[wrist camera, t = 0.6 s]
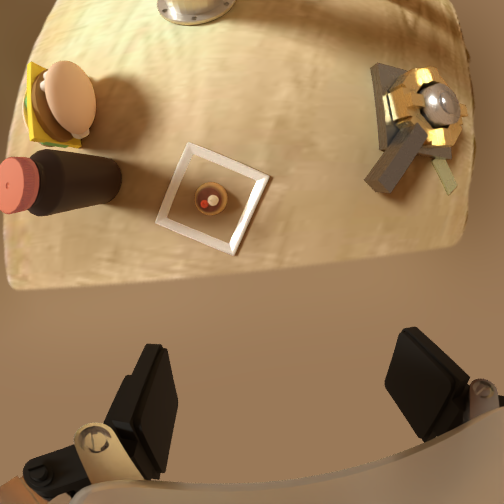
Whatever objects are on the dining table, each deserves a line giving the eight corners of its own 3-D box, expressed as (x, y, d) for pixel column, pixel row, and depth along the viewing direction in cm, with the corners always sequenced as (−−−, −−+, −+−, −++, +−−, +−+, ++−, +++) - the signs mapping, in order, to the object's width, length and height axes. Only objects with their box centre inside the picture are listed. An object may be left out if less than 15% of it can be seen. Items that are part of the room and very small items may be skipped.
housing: (370, 68, 32) (403, 44, 22) (447, 91, 33) (484, 80, 23) (380, 190, 37) (420, 194, 27) (456, 195, 38) (496, 202, 28)
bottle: (94, 211, 35) (1, 238, 16) (78, 172, 34) (-18, 175, 14) (129, 189, 35) (41, 199, 16) (112, 149, 33) (20, 129, 14)
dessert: (156, 221, 37) (146, 227, 32) (189, 142, 35) (182, 137, 30) (233, 254, 39) (233, 264, 34) (269, 176, 36) (274, 175, 32)
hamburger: (110, 132, 33) (66, 116, 21) (67, 154, 33) (18, 149, 21) (99, 68, 30) (62, 39, 18) (59, 91, 30) (16, 73, 18)
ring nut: (408, 63, 30) (428, 52, 24) (454, 117, 32) (475, 113, 26) (337, 156, 33) (355, 152, 28) (394, 213, 35) (416, 219, 30)
